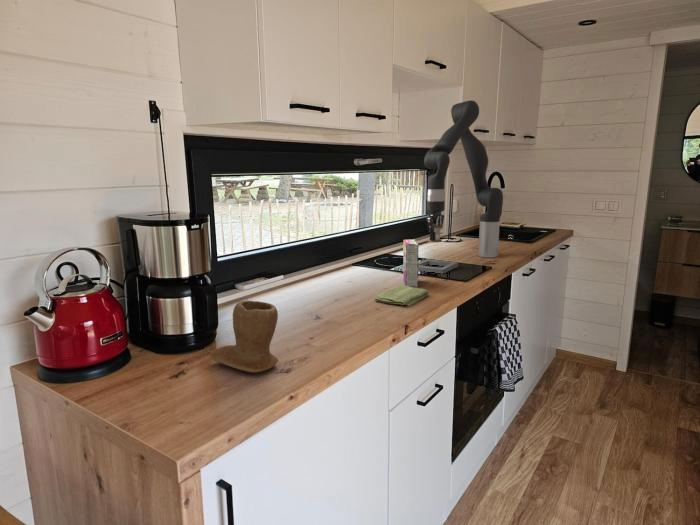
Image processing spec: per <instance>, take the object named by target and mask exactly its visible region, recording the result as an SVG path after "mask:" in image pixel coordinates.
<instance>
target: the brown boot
mask: <svg viewBox="0 0 700 525" xmlns="http://www.w3.org/2000/svg"><path fill="white" fill-rule="evenodd" d="M278 318H279V313H278V309H277V307H276V306H275V305H274V304H272V303H270V302H263V301H260V300H259V301H257V300H255V301H254V300H241V301H238V302H237V303H236V304H235V306H234V307H233V311H232V328H233V333H234V338H235V344H228V345H223V346H220V347H218V348H216V349H214V350H213V351H212V352H211V353H210V354H209V356H208V358H209V359H210V360H212V361H214V362H217V363H220V364H222V365H225V366H228V367H230V368H234V369H236V370H239V371H243V372H247V373H252V374H253V373H262V372H265V371H267V370H269V369H271V368H273V367H275V366H276V365H277V363H278V362H279V359H278V358H277V357H276V356H275V355H273V354H272V353H271V350H270V347H271V342H272V340H273V337H274V334H275V332H276V328H277V323H278Z"/></svg>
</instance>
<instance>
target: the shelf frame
mask: <svg viewBox="0 0 700 525" xmlns="http://www.w3.org/2000/svg"><path fill="white" fill-rule="evenodd" d="M428 264H429V265H428ZM425 265H427V266H425ZM432 265H439V266H432ZM441 266H444V267H441ZM458 267H459V262H457V261H448V260H440V259H439V260H438V259H429V258H426V259H424V260H421V261H418V272H419V271H425V272H424V273H427V272H435V273H441V274H440V275H444V274H443V273H445V274H446V272H447V273H449V272H450V270H451V271H453V270H455V269H456V268H458ZM454 268H455V269H454ZM452 269H453V270H452ZM448 271H449V272H448ZM435 273H434V274H435Z"/></svg>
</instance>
